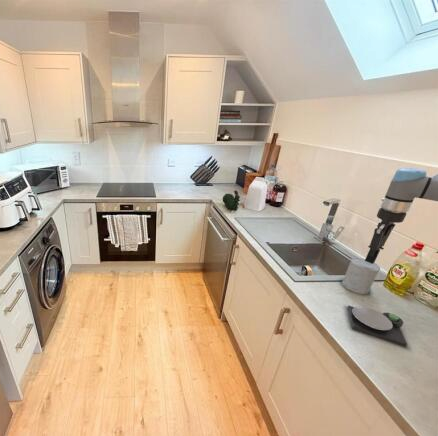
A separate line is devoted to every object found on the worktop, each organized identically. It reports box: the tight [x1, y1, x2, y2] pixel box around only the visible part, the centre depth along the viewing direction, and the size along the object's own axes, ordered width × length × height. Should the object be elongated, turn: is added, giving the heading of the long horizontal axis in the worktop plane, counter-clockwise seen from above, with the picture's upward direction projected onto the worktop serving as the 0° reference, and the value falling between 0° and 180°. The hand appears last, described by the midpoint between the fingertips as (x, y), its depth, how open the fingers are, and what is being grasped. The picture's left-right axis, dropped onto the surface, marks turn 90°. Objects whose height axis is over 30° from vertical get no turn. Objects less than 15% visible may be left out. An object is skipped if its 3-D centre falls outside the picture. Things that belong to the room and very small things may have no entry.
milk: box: [243, 176, 268, 212], centre depth 192 cm, size 12×12×26 cm
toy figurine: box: [222, 189, 241, 212], centre depth 193 cm, size 9×19×25 cm
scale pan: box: [352, 305, 393, 331], centre depth 86 cm, size 11×11×1 cm
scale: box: [347, 305, 408, 348], centre depth 86 cm, size 15×13×3 cm
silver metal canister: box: [341, 257, 381, 295], centre depth 104 cm, size 10×10×12 cm
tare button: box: [388, 313, 400, 322], centre depth 86 cm, size 3×3×1 cm
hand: (369, 261), depth 99 cm, fingers closed
